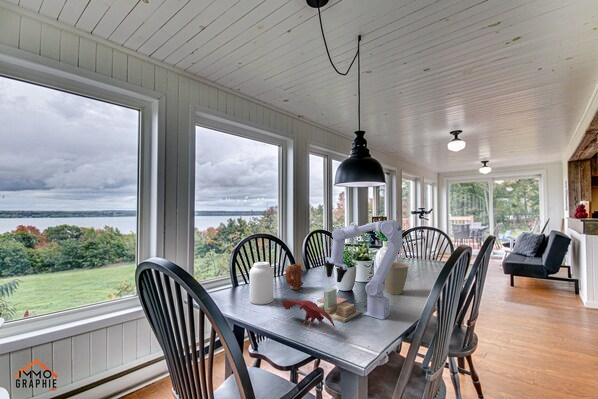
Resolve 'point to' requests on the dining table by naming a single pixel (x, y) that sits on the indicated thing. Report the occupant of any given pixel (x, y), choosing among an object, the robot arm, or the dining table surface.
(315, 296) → the dining table surface
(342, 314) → the offcut pile
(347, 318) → the wooden blocks on board
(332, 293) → the pale green block
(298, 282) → the orange-brown rough oval lump
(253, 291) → the white jar
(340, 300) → the mat
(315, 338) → the dining table surface
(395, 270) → the plant pot
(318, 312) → the red animal figurine
